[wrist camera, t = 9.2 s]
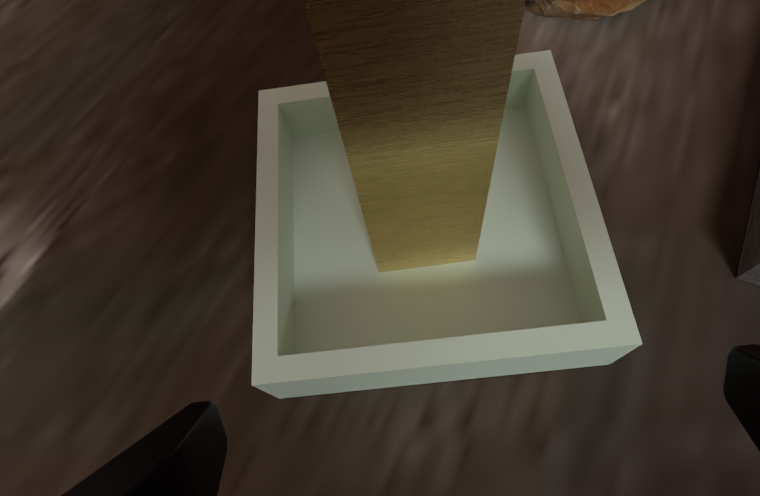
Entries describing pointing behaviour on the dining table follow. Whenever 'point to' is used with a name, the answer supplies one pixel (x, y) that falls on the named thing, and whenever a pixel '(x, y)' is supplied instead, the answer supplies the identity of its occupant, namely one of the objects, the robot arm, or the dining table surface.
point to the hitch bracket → (752, 243)
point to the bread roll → (580, 8)
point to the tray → (431, 283)
